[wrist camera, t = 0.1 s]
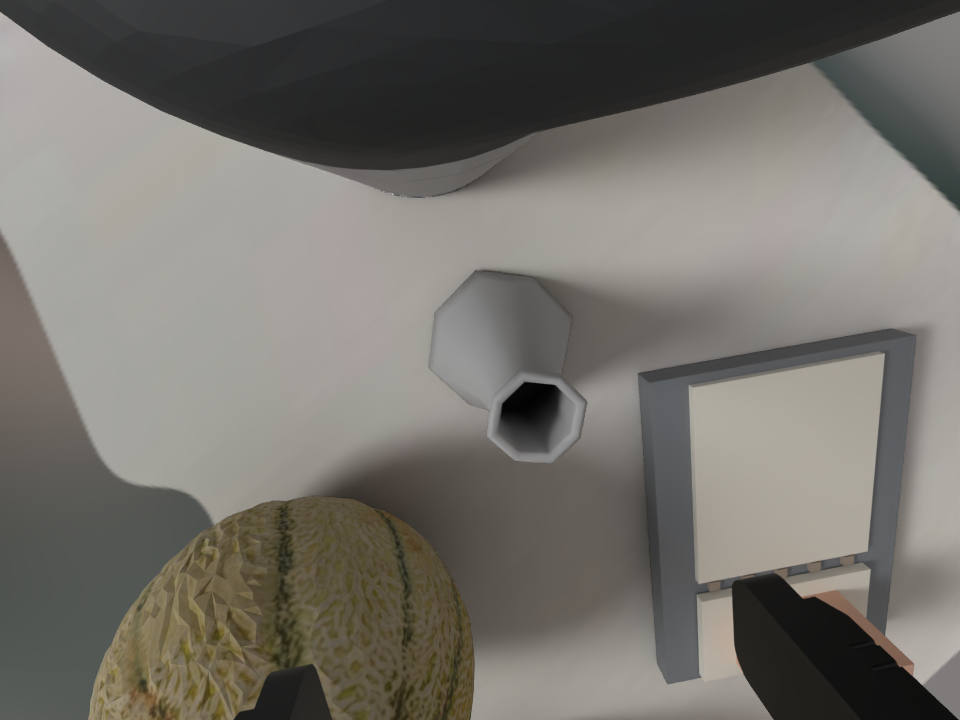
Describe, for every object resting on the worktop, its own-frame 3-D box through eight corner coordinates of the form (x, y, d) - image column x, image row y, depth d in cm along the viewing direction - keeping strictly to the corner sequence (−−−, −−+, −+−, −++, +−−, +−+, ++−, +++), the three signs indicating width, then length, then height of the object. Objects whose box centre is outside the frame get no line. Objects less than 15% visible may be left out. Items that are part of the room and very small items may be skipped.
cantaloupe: (138, 531, 27) (-198, 896, 13) (368, 390, 26) (286, 617, 12) (307, 702, 31) (199, 1120, 17) (512, 588, 30) (582, 933, 16)
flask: (404, 374, 26) (386, 472, 16) (466, 243, 24) (486, 266, 15) (529, 428, 27) (579, 546, 18) (595, 308, 26) (690, 367, 16)
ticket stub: (696, 594, 29) (754, 680, 24) (862, 562, 30) (956, 640, 24) (699, 673, 31) (754, 769, 26) (855, 642, 31) (941, 730, 26)
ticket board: (638, 373, 27) (652, 385, 25) (891, 328, 27) (923, 337, 25) (657, 663, 33) (670, 690, 31) (864, 622, 33) (889, 646, 31)
